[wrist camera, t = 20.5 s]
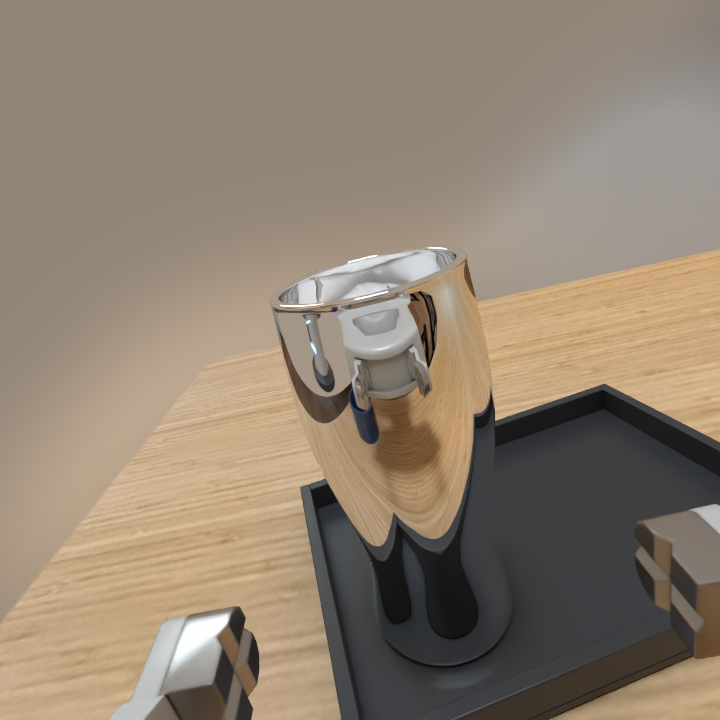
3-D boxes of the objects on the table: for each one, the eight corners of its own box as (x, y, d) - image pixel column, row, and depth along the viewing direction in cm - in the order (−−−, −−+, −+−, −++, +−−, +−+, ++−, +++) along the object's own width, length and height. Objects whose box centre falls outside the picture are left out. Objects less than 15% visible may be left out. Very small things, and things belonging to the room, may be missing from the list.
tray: (363, 799, 15) (349, 765, 14) (308, 511, 29) (300, 486, 28) (888, 570, 18) (897, 532, 17) (605, 407, 32) (604, 383, 31)
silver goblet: (440, 520, 25) (381, 245, 20) (559, 595, 19) (521, 239, 14) (336, 604, 22) (230, 300, 16) (443, 722, 16) (335, 320, 11)
